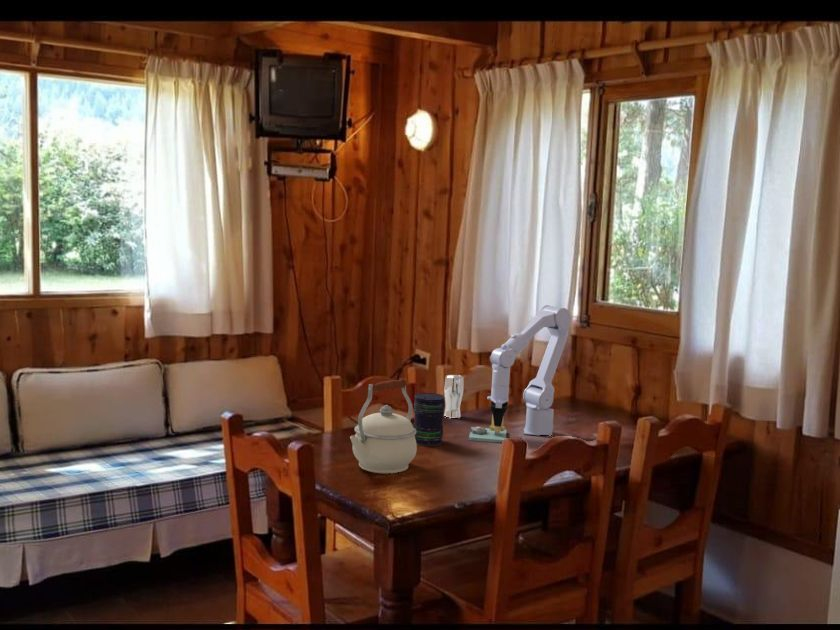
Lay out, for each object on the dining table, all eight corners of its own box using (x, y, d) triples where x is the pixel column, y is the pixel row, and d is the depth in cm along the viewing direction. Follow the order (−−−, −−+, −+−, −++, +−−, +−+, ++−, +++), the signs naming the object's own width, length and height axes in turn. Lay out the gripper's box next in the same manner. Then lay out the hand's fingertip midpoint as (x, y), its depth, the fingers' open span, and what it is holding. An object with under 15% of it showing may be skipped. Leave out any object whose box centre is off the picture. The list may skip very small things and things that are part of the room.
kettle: (385, 452, 250) (389, 371, 248) (432, 466, 239) (437, 381, 236) (325, 468, 231) (329, 381, 228) (374, 484, 220) (378, 392, 217)
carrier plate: (506, 432, 282) (507, 421, 282) (505, 443, 268) (506, 431, 268) (471, 429, 284) (472, 418, 283) (468, 440, 270) (469, 428, 269)
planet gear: (505, 428, 278) (506, 413, 277) (505, 432, 272) (506, 417, 272) (489, 426, 278) (490, 412, 278) (488, 430, 273) (489, 416, 273)
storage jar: (422, 435, 272) (424, 391, 270) (448, 441, 267) (450, 396, 266) (406, 442, 264) (408, 396, 262) (432, 447, 259) (435, 400, 257)
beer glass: (462, 415, 304) (464, 375, 303) (461, 419, 298) (463, 378, 296) (443, 413, 305) (445, 374, 303) (441, 418, 298) (444, 377, 297)
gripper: (489, 379, 281) (486, 418, 283) (487, 387, 267) (484, 428, 269) (509, 381, 281) (507, 420, 282) (509, 389, 266) (506, 430, 268)
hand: (497, 424), depth 275 cm, fingers closed on planet gear, 4 cm apart
